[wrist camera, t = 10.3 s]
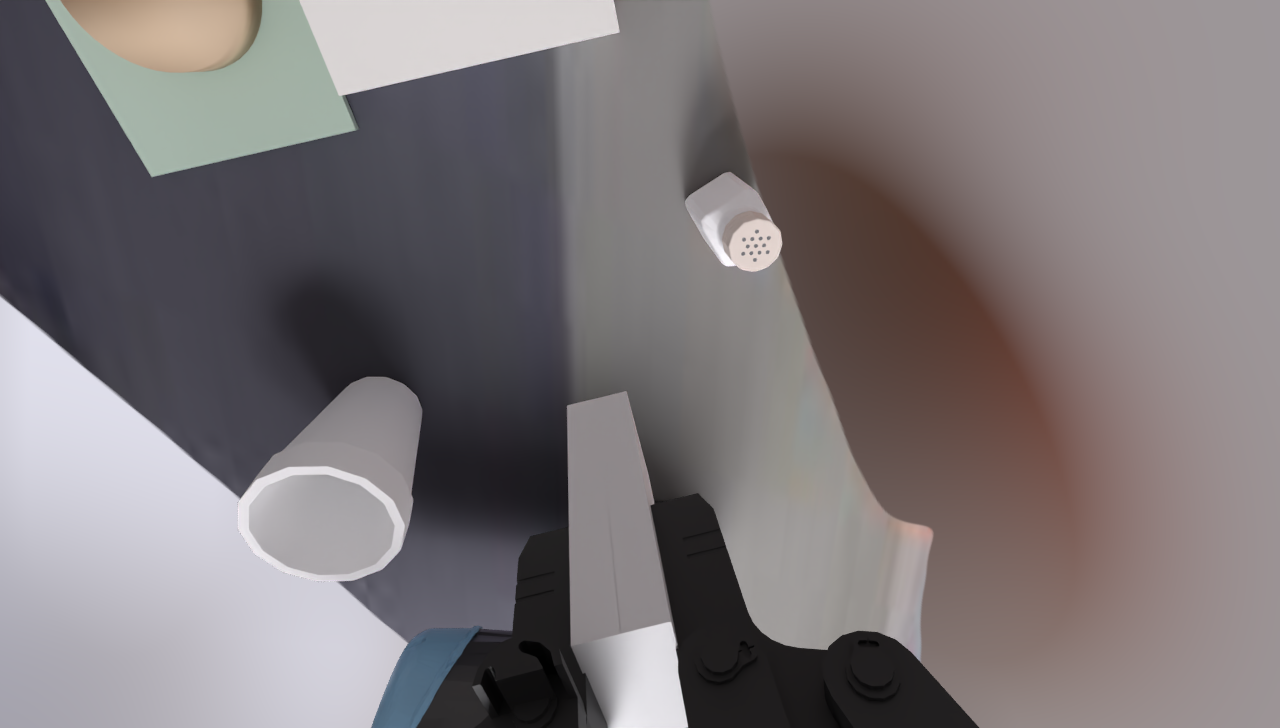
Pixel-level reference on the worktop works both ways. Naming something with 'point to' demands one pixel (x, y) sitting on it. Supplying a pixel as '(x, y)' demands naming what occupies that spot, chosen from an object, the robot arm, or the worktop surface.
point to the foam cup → (339, 487)
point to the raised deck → (442, 34)
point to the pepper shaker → (735, 223)
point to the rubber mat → (221, 95)
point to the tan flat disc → (171, 30)
